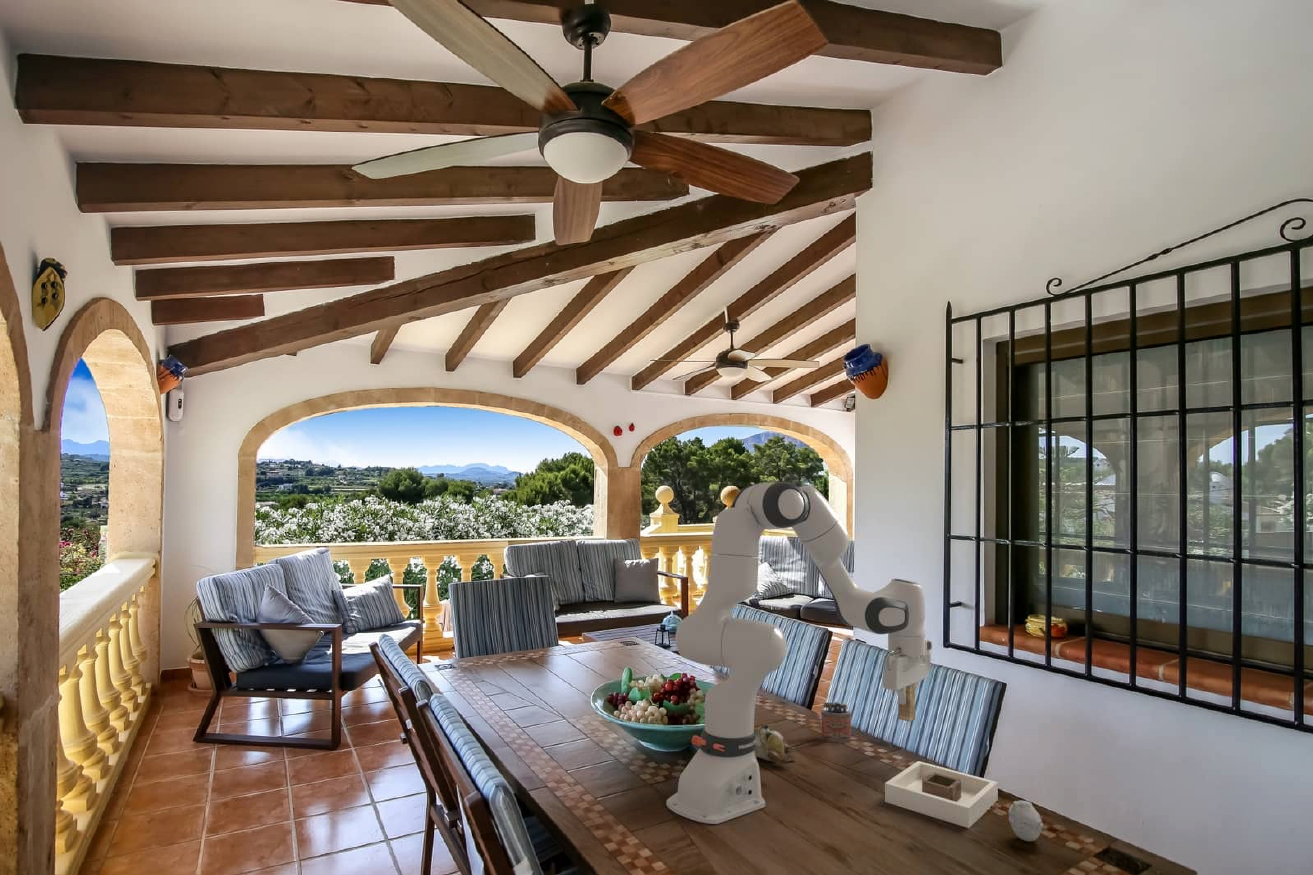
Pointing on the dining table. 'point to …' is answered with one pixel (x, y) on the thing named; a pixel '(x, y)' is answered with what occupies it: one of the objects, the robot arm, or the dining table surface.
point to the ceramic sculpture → (772, 746)
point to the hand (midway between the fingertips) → (906, 702)
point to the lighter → (836, 723)
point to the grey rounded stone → (1025, 820)
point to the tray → (942, 793)
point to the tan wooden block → (908, 705)
